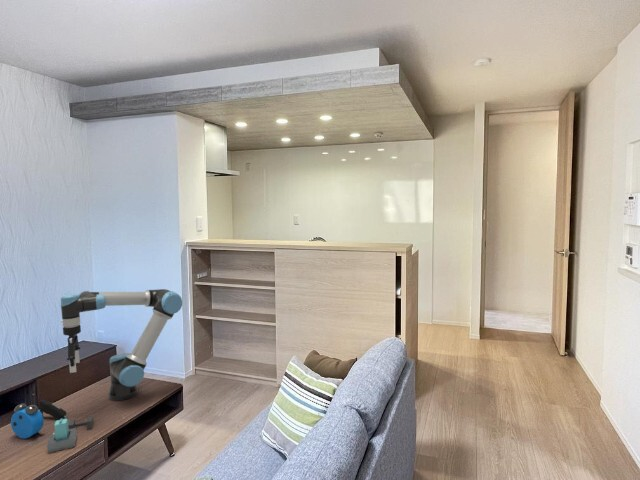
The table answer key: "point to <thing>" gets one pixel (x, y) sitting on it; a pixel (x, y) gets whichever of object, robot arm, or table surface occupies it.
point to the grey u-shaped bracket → (88, 422)
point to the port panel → (62, 441)
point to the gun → (52, 409)
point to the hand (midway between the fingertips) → (74, 367)
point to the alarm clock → (26, 421)
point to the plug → (61, 429)
